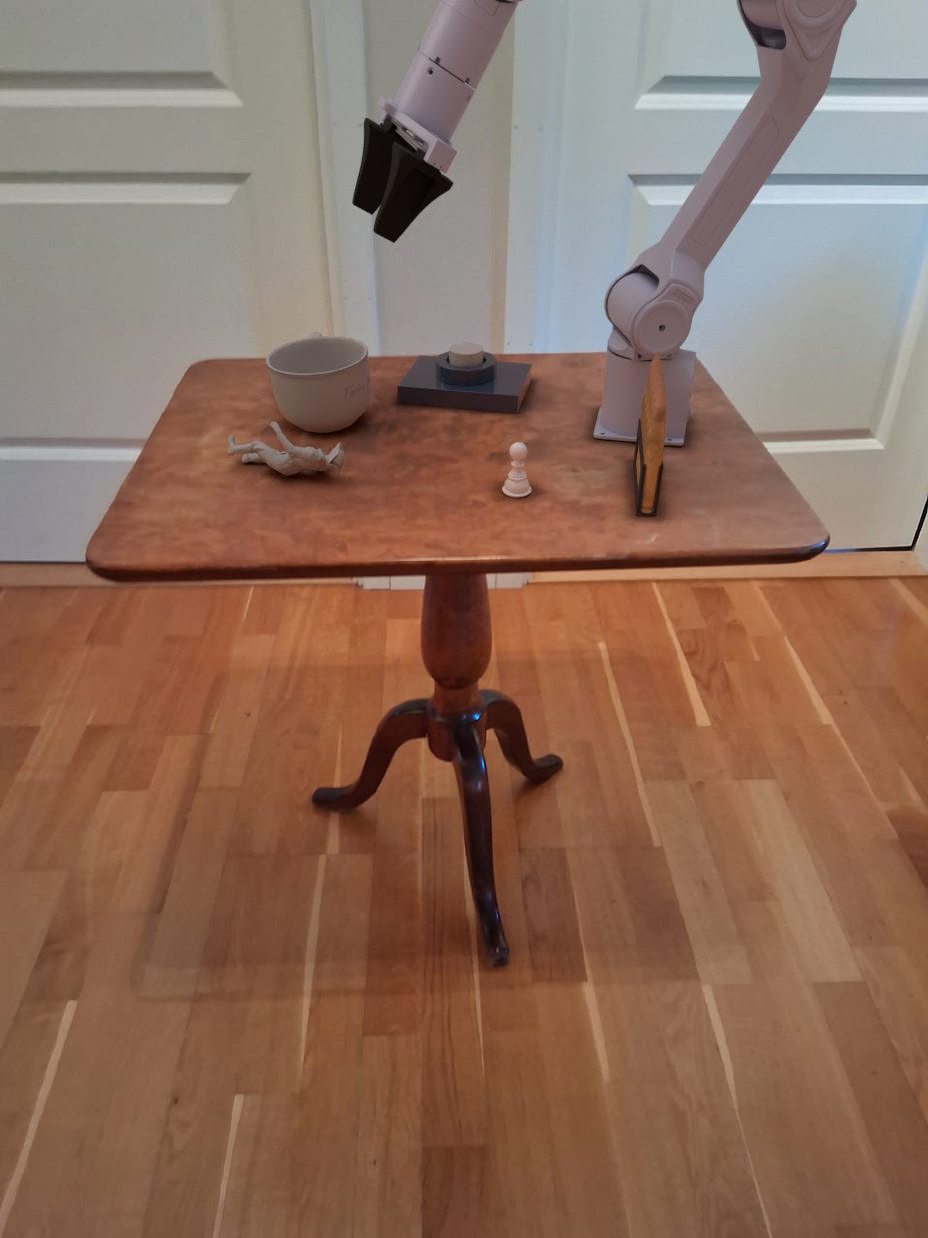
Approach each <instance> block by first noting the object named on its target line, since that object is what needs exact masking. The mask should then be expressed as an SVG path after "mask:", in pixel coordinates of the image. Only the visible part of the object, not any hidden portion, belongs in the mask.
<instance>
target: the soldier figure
mask: <svg viewBox="0 0 928 1238" xmlns="http://www.w3.org/2000/svg"><path fill="white" fill-rule="evenodd" d="M269 427H272V429H273V430H274V432H275V433H276V435H277V436H276V438H277V440H278V441H279V443H280V444H281V446H282V447H283V449H284V451H279V450H278V449H276V448H271V447H270V446H269V445H267V444H266V443H264V442H263V441H260V440H253V441H252V442H249V443H245V444H236V438H235V436H233V435H229V436H228V438H227V444H228V448H227V451H226V452H227V456H229V457H230V456H234V455H236V454H237V455H243V456H242V457H241V463H242V464H248V463H250V462H265V463H266V465H267V466H268V467H270V468H271V469H273V470H275V471H276V472H278V473H280V474H281V475H282V476H283V475H284V476H292V475H296V474H298V473H299V472H302V471H304V470H306V471H317V472H325V471H326V470H327V469H328V468H329V469H332V470H333V469H336V470H337V471H338V473H339V474H341V472H342V470H343V469H344V467H345V461H346V460H345V459H346V458H345V452H344V448H343V446H342V442H341V441H339V442H338V443H337V444H336V446H335V447H333V448H327V449H325V450H324V451H323V449H322V448H319V447H317V449H316V448H314V447H313V446H305V447H303V446H302V447H301V446H296V445H293V443H291V442H290V441H289V440H288V438H287V436H286V435H285V434H284V433H283V431H282V429H281V427H280V425H279V423H278V422H276V421H271V422H270V424H269ZM328 450H331V451H329V453H327V452H326V451H328Z"/></svg>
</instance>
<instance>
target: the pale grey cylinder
mask: <svg viewBox="0 0 928 1238" xmlns="http://www.w3.org/2000/svg"><path fill="white" fill-rule="evenodd" d="M484 349H485V348H484V346H483V345H481V344H479V343H477V342H469V341H462V342H456V343H453V344H450V345H449V347H448V351H449V364H451V365H454V366H462V367H472V366H478V365H481V364H483V352H485V351H484Z"/></svg>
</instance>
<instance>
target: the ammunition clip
mask: <svg viewBox="0 0 928 1238" xmlns="http://www.w3.org/2000/svg"><path fill="white" fill-rule="evenodd" d="M666 410H667V401H666V393H665V386H664V379H663V372H662V365H661V358H660V354H659V352H656V354H655V355H654V357H653V360H652V362H651V365H650V369H649V374H648V381H647V385H646V390H645V393H644V396H643V403H642V411H641V418H639V422H638V429H637V437H636V442H635V447H634V454H633V462H632V470H633V483H634V484H633V486H634V487H633V489H634V502H635V503H634V504H635V515H636V516H647V517H657V514H658V508H659V500H660V494H661V487H662V480H663V473H664V460H663V459H664V453H665V452H664V451H665V446H666V445H665V423H666Z"/></svg>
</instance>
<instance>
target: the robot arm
mask: <svg viewBox="0 0 928 1238" xmlns="http://www.w3.org/2000/svg"><path fill="white" fill-rule="evenodd" d="M522 1H524V0H440V1H439V3H438V5H437V8H436V10H435V12H434V14H433V16H432V18H431V21H430V22H429V24H428V27H427V29H426V31H425V33H424V34H423V37H422V39H421V42H420V43H419V46H418V49H417V51H416V52H415V54H414V56H413V59H412V61H411V63H410V64H409V67H408V69H407V71H406V74H405V75H404V78H403V80H402V82H401V84H400V86H399V88H398V90H397V93H396V95H395V97H394V99H393V98H391V97H388V99H385V98H384V97H383V96H379V97H378V100H377V103H376V105H377V107H379V108H380V109H382V112H381V114H380V116H379V119H380V120H381V121H382V122H380V123H377V122H376V121H375V120H372V119H371V118H368V117H365V118H364V120H363V144H362V145H363V146H362V155H361V161H360V164H359V170H358V174H357V179H356V182H355V186H354V191H353V196H352V201H351V204H352V205H353V206H354V207H356V208H358V209H360V210H362V211H364V212H366V213H367V214H369V215H371V216H373V215H374V214H375V213H376V211H377V210H378V211H377V213H376V216H375V219H374V224H373V229H372V231H373V233H374V234H376V235H377V236H380V237H382V238H383V239H385V240H387V241H389V242H391V243H393V244H395V243H396V242H397V241H398V240H399V239H400V238H401V236H402V235H403V234H404V233H405V232H406V230H407V229H408V228H409V227H410V226H411V225H412V223H413V222H414V221H415V220H416V219H417V217H419V215H420V214H421V213H422V212H423V211H424V210H425V209H427V207H428V206H429V205H431V204H432V203H433V202H434V201H435V200H437V199H438V198H439V197H441V196H443V195H444V194H446V193H447V192H449V191H450V190H452V187H453V186H454V182H453V181H452V180H451V179H450V178H449V177H448V176H446V175H445V174H447V173H448V171H449V169H450V167H451V165H452V163H453V161H454V159H455V157H456V156H457V154H458V150H456V149H455V148H454V147H453V143H452V139H453V136H454V135H455V133H456V131H457V129H458V127H459V125H460V123H461V121H462V119H463V117H464V115H465V113H466V111H467V109H468V108H469V105H470V103H471V102H472V99H473V98H474V95H475V94H476V91H477V89H478V87H479V85H480V83H481V81H482V80H483V78H484V75H485V73H486V71H487V70H488V68H489V66H490V64H491V62H492V60H493V58H494V56H495V54H496V52H497V50H498V48H499V46H500V44H501V43H502V41H503V38H504V36H505V35H504V34H505V31H506V29H507V27H508V25H509V23H510V21H511V19H512V17H513V15H514V14H515V11H516V9H517V7H518V5H519V3H521V2H522ZM735 1H736V7H737V10H738V13H739V16H740V19H741V20H742V22H743V24H744V26H745V29H746V30H747V32H748V35H749V36H750V38H751V40H752V42H753V45H754V47H755V49H756V55H757V62H758V67H759V68H758V69H759V75H760V81H759V85H758V86H757V88H756V89H755V90H754V92H753V94H752V96H751V97H750V98H749V100H748V102H747V103H746V105H745V106H744V108H743V110H741V113H740V114H739V116H738V117H737V119H736V120H735V122H734V124H733V125H732V127H731V129H730V130H729V132H728V134H726V137H725V138H723V139H724V140H723V141H722V143H721V145H719V148H718V149H717V150H716V152H715V154H714V155H713V157H712V159H710V162H709V163H708V164H707V166H706V167H705V169H704V171H703V172H702V174H701V175H700V177H699V179H698V180H697V182H696V183H695V185H694V186H693V188H692V190H691V191H690V193H689V194H688V196H687V197H686V199H685V200H684V202H683V204H682V205H681V207H680V208H679V209H678V212H677V213H676V215H675V217H674V218H673V219H672V221H671V223H670V224H669V226H668V227H667V229H666V230H665V232H664V233H663V235H662V236H661V238H660V240H659V241H658V242H656V243H655V244H653V245H651V246H650V247H648V248H646V249H645V250H643V251H642V252H640V253H639V254H638V256H637V258H636V259H635V261H634V262H633V263H632V264H631V266H630V267H629V268H628V269H627V270H625V271H623V272H622V273H621V274H619V275H618V276H617V277H615V278H614V280H612V282H610V285H609V286H608V288H607V290H606V292H605V295H604V300H603V308H604V309H603V310H604V313H605V316H606V319H607V320H608V322H609V323H610V324H611V325H612V328H611V333H610V335H609V337H608V339H607V343H606V344H607V347H606V354H605V355H606V356H605V367H604V369H605V370H604V376H603V377H604V378H603V379H604V380H603V389H602V399H601V400H602V401H601V406H600V407H599V408H598V412H597V418H596V422H595V426H594V430H593V438H594V439H598V440H607V441H608V440H610V441H619V442H633V443H636V437H637V429H638V422H639V418H641V411H642V403H643V396H644V393H645V390H646V385H647V381H648V374H649V369H650V365H651V362H652V360H653V357H654V355H655V354H656V352H659V354H660V358H661V365H662V372H663V379H664V386H665V393H666V401H667V410H666V423H665V445H664V446H677V447H682V446H683V445H684V444H685V436H686V430H687V424H688V422H690V420H691V414H692V407H693V406H692V405H693V404H692V403H691V399H692V398H691V397H692V392H693V384H694V377H695V370H696V361H697V351H695V350H689V349H684V348H681V347H682V346H683V345H684V343H685V342H686V340H687V339H688V336H689V334H690V332H691V329H692V323H693V319H694V317H695V313H696V311H697V310H698V307H699V306H700V304H701V303H702V302H703V300H704V295H705V273H706V270H707V269H708V268H709V266H710V265H711V263H712V261H713V260H715V259H714V258H715V257H716V256H717V255H718V253H719V251H720V250H721V248H722V247H723V245H725V242H726V240H728V238H729V237H730V235H731V233H732V232H733V231H734V229H735V227H736V226H737V225H738V223H739V222H740V220H741V218H742V217H743V216H744V214H745V213H746V211H747V209H748V208H749V207H750V205H751V204H752V203H753V201H754V199H755V198H756V196H757V195H758V193H759V192H760V190H761V189H762V187H763V186H764V184H765V183H766V181H767V180H768V178H769V177H770V176H771V174H772V173H773V171H774V170H775V168H776V166H777V165H778V164H779V162H780V160H781V159H782V158H783V157H784V155H785V153H786V152H787V151H788V149H789V147H790V146H791V145H792V143H793V142H794V140H795V138H796V137H797V135H798V134H799V133H800V131H801V129H802V128H803V126H804V125H805V124H806V122H807V121H808V119H809V118H810V116H811V115H812V113H813V112H814V110H815V109H816V107H817V106H818V105H819V102H820V101H821V100H822V98H823V97H824V95H825V93H826V91H827V89H828V87H829V84H830V80H831V76H832V72H833V68H834V64H835V60H836V56H837V52H838V49H839V44H840V40H841V37H842V32H843V28H844V26H845V24H846V23H847V22H848V20H849V18H850V17H851V15H852V14H853V12H854V11H855V9H856V8H857V6H858V0H735ZM409 132H410V133H411V134H413V135H411V134H410V133H409ZM443 173H444V174H443Z"/></svg>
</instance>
